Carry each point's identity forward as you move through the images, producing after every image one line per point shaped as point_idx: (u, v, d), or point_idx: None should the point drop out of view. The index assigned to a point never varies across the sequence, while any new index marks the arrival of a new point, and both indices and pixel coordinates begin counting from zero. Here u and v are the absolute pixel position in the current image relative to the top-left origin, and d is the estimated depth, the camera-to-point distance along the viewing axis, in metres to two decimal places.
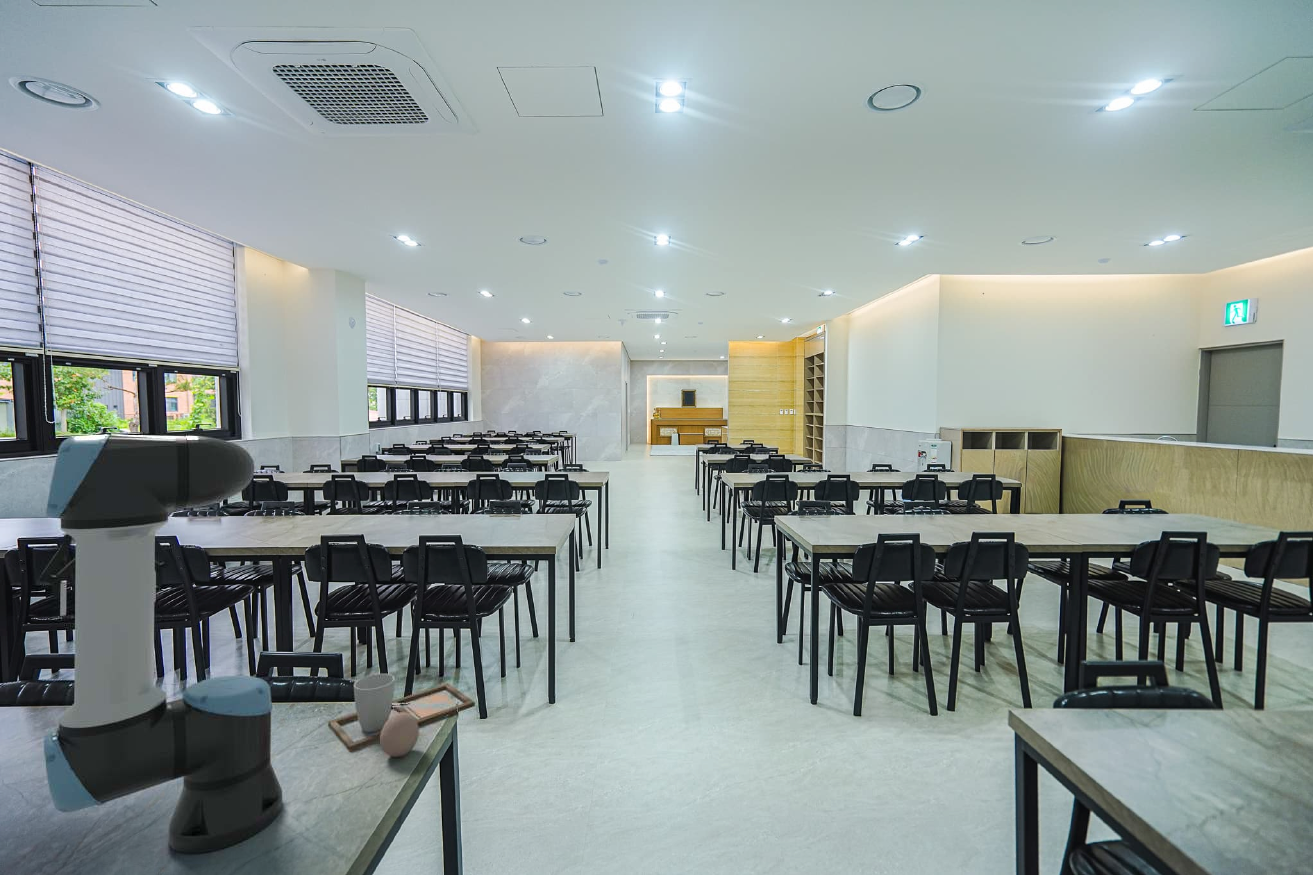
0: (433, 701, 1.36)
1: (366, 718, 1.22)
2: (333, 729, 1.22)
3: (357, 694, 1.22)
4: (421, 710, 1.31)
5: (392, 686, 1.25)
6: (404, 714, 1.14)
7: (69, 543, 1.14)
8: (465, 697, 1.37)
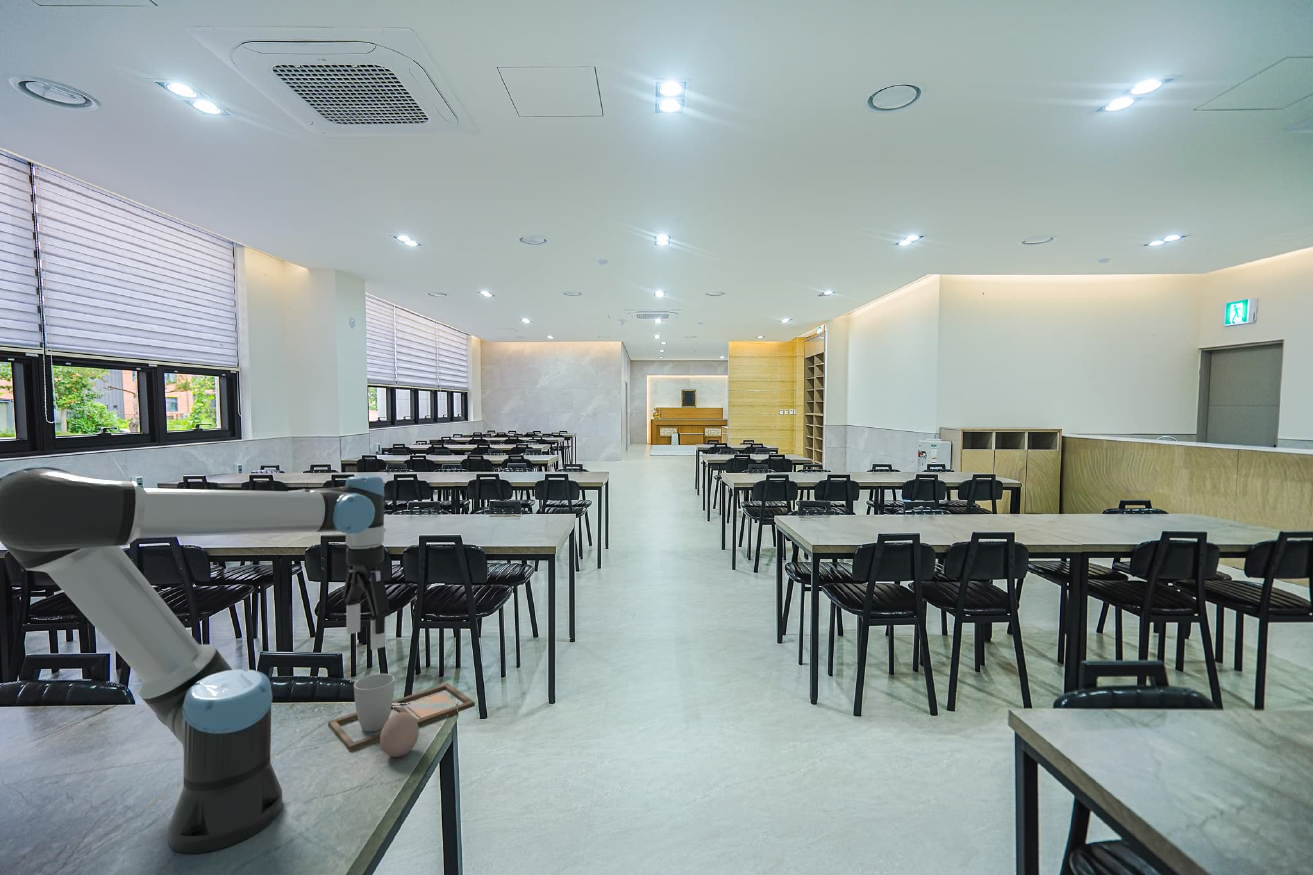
0: (433, 701, 1.36)
1: (366, 718, 1.22)
2: (333, 729, 1.22)
3: (357, 694, 1.22)
4: (421, 710, 1.31)
5: (392, 686, 1.25)
6: (404, 714, 1.14)
7: (348, 571, 1.28)
8: (465, 697, 1.37)
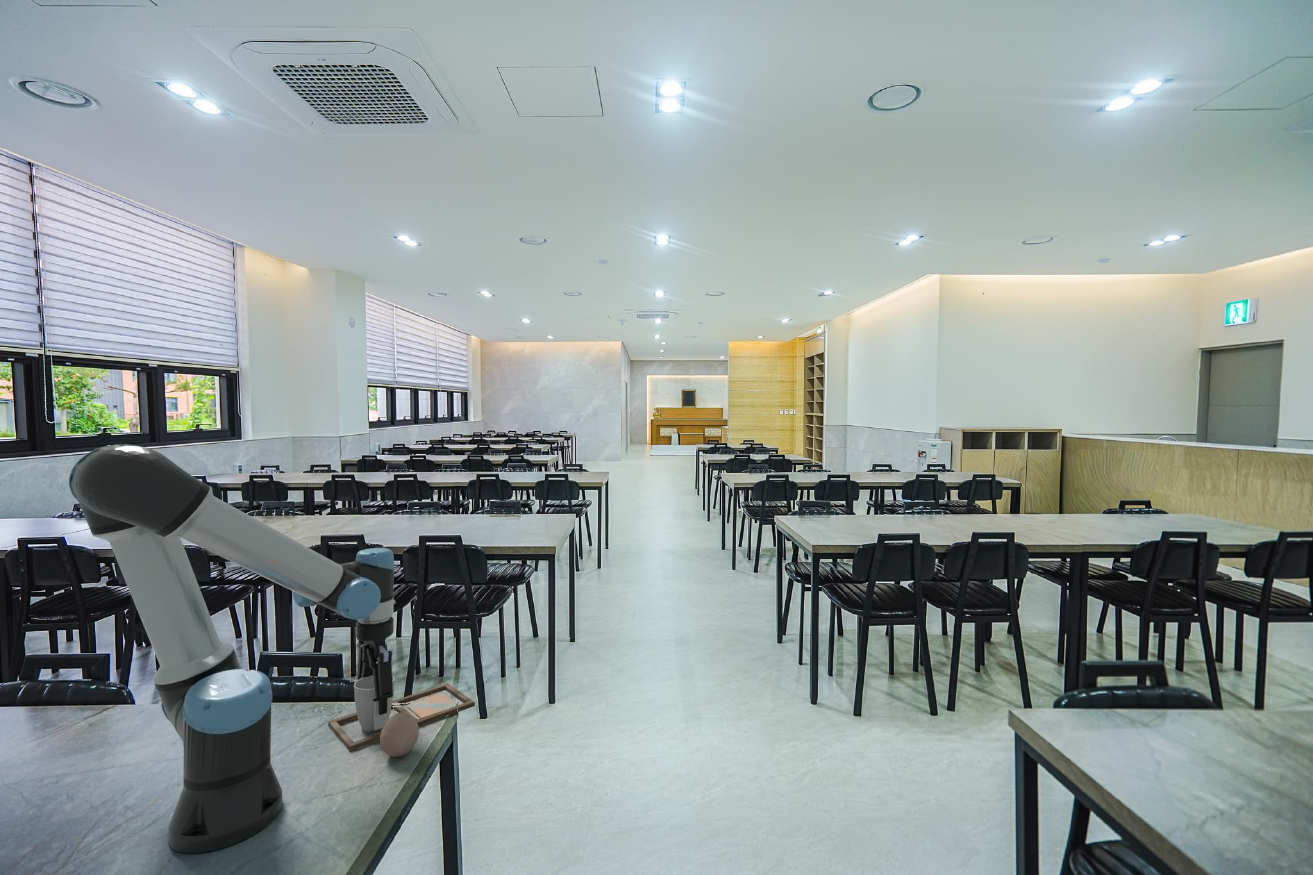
0: (433, 701, 1.36)
1: (366, 718, 1.22)
2: (333, 729, 1.22)
3: (357, 694, 1.22)
4: (421, 710, 1.31)
5: None
6: (404, 714, 1.14)
7: (360, 647, 1.28)
8: (465, 697, 1.37)
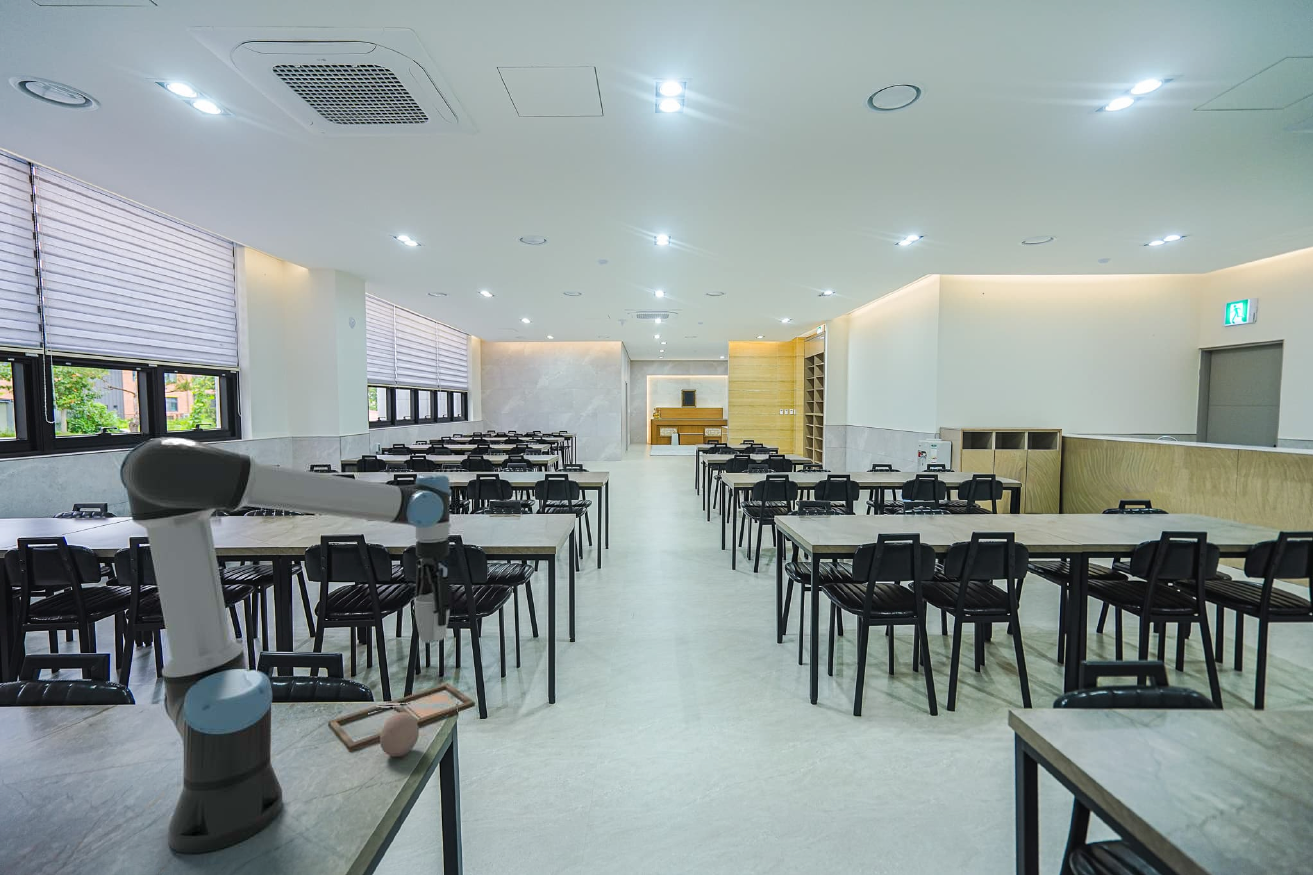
0: (433, 701, 1.36)
1: (426, 629, 1.31)
2: (333, 729, 1.22)
3: (418, 607, 1.31)
4: (421, 710, 1.31)
5: None
6: (404, 714, 1.14)
7: (417, 567, 1.37)
8: (465, 697, 1.37)
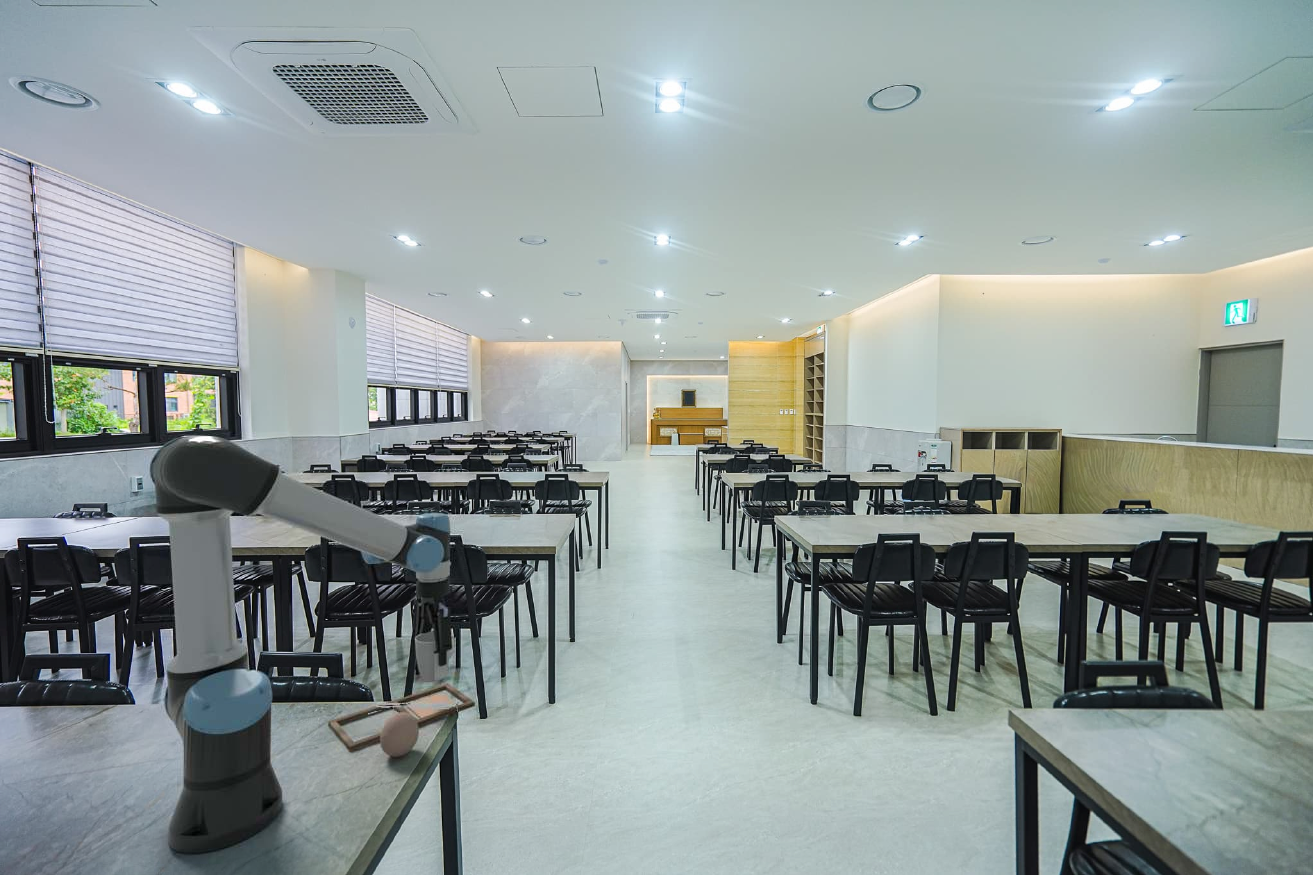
0: (433, 701, 1.36)
1: (427, 669, 1.31)
2: (333, 729, 1.22)
3: (419, 647, 1.31)
4: (421, 710, 1.31)
5: None
6: (404, 714, 1.14)
7: (418, 605, 1.37)
8: (465, 697, 1.37)
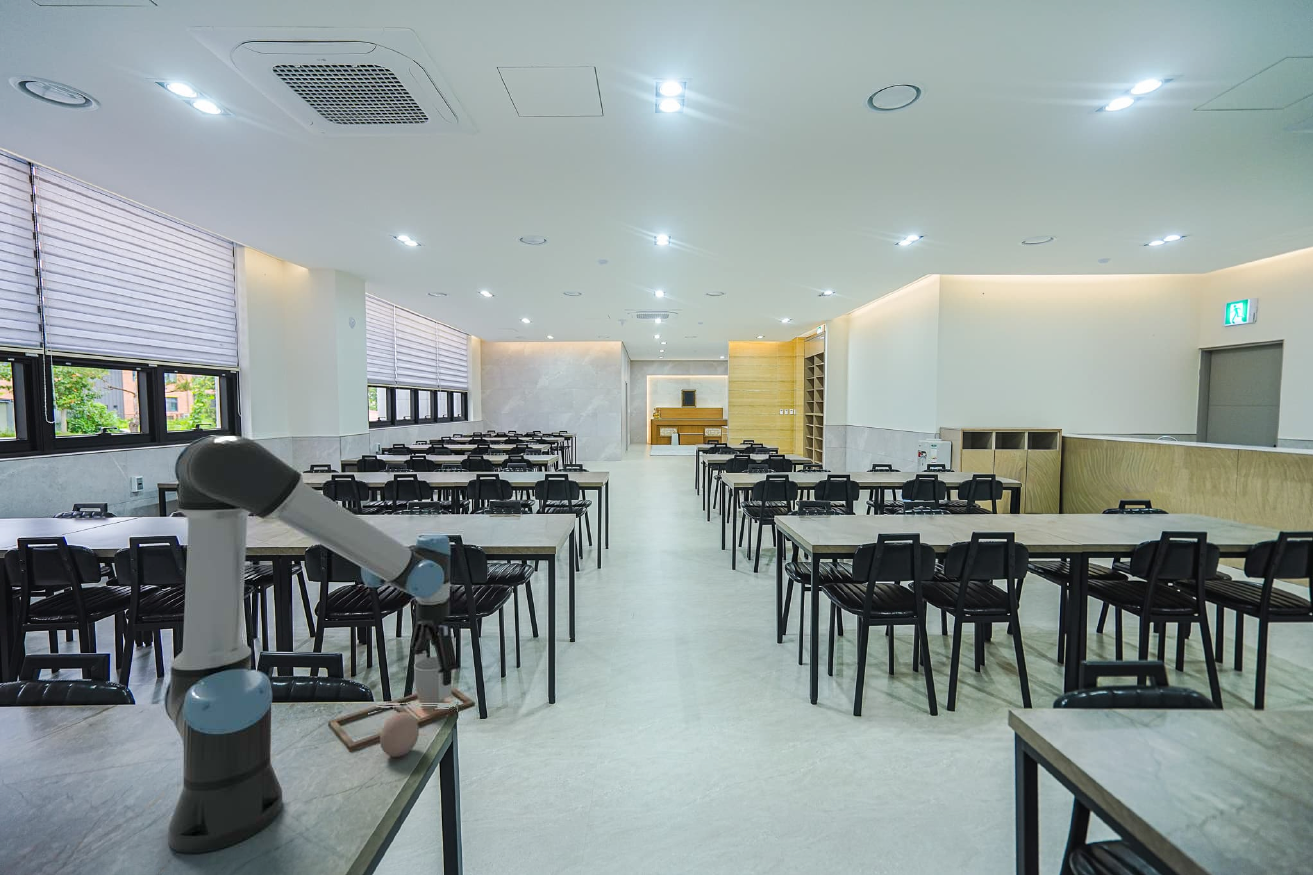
0: None
1: (425, 696, 1.31)
2: (333, 729, 1.22)
3: (417, 675, 1.31)
4: (421, 710, 1.31)
5: None
6: (404, 714, 1.14)
7: (417, 623, 1.38)
8: (465, 697, 1.37)
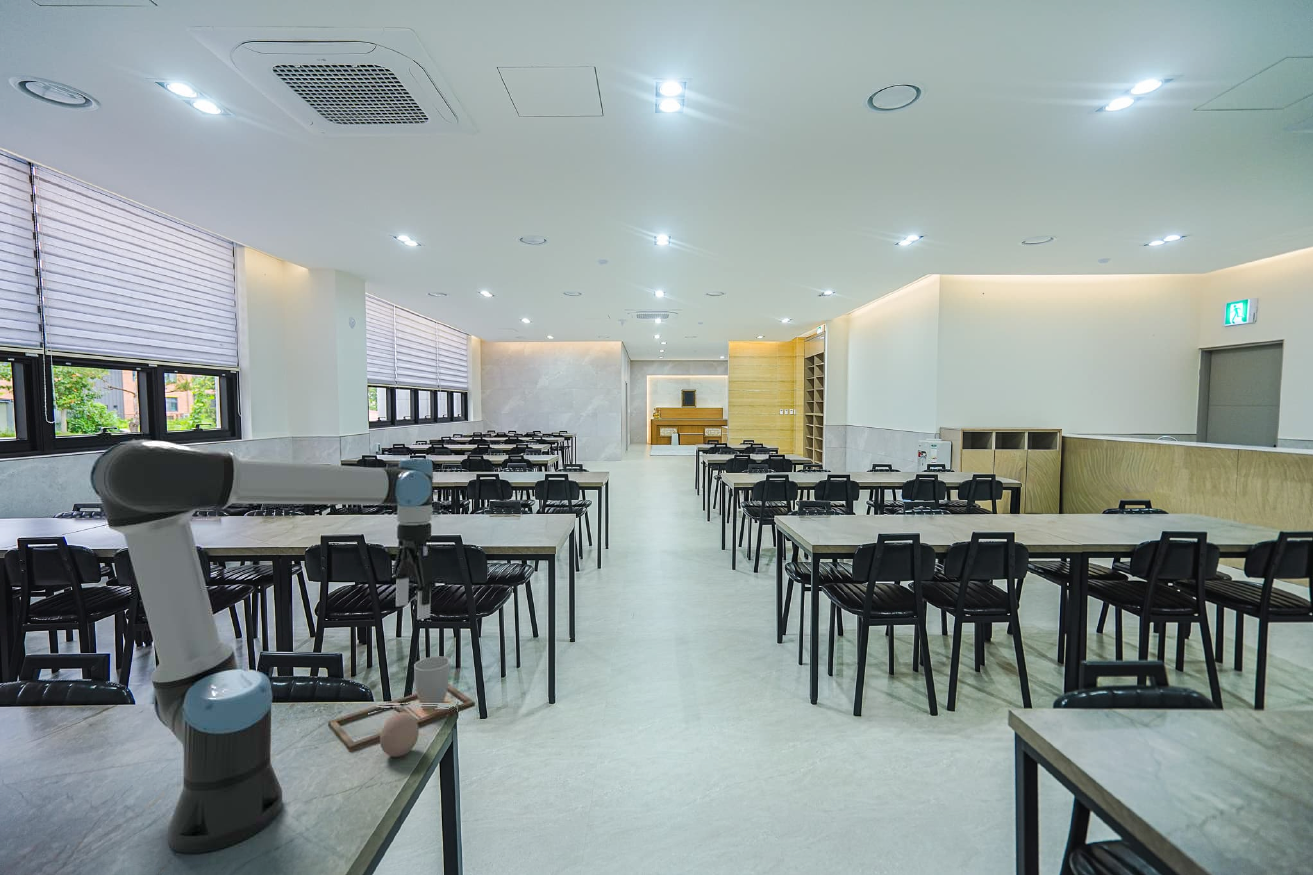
0: None
1: (425, 696, 1.31)
2: (333, 729, 1.22)
3: (417, 675, 1.31)
4: (421, 710, 1.31)
5: (449, 667, 1.35)
6: (404, 714, 1.14)
7: (399, 547, 1.37)
8: (465, 697, 1.37)
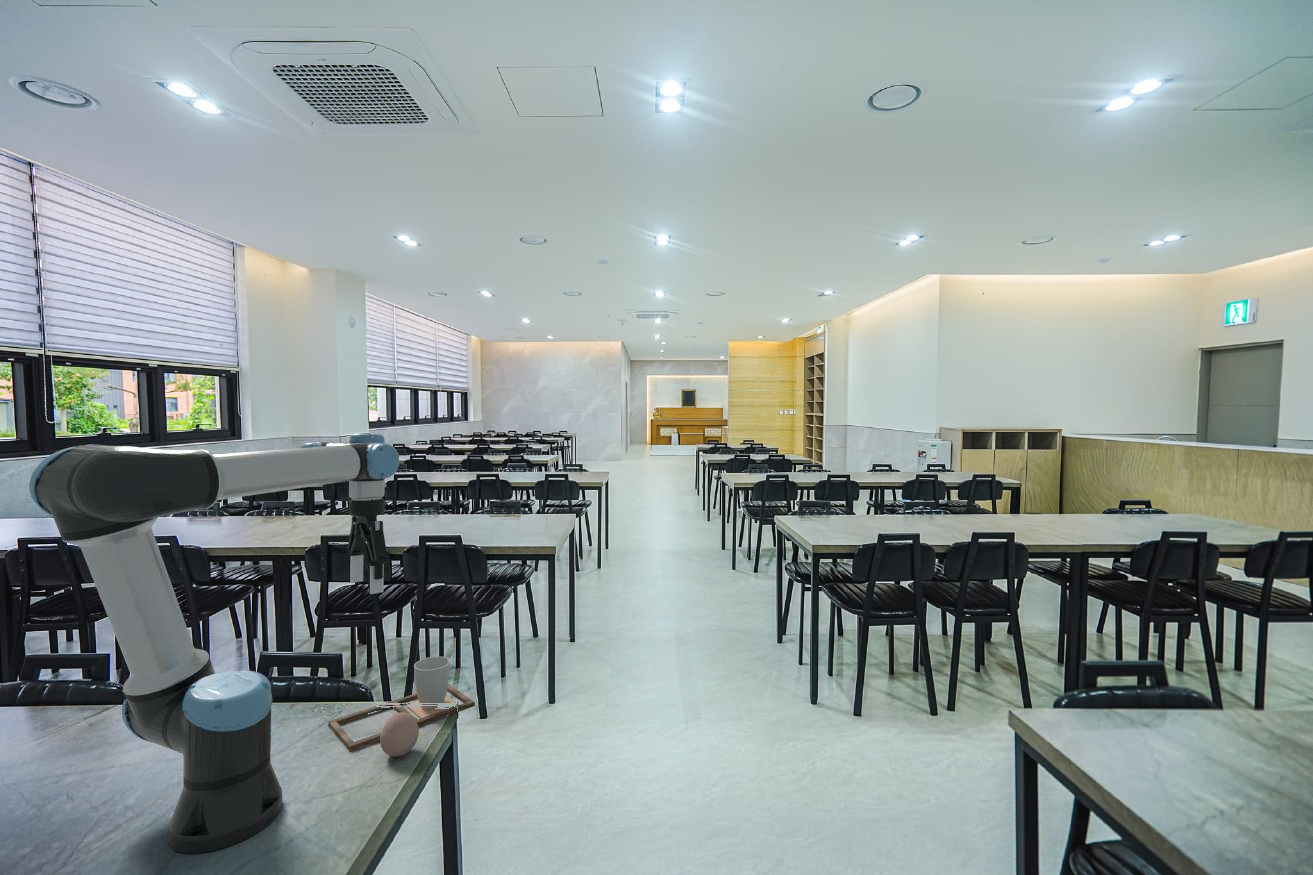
0: None
1: (425, 696, 1.31)
2: (333, 729, 1.22)
3: (417, 675, 1.31)
4: (421, 710, 1.31)
5: (449, 667, 1.35)
6: (404, 714, 1.14)
7: (352, 524, 1.37)
8: (465, 697, 1.37)
